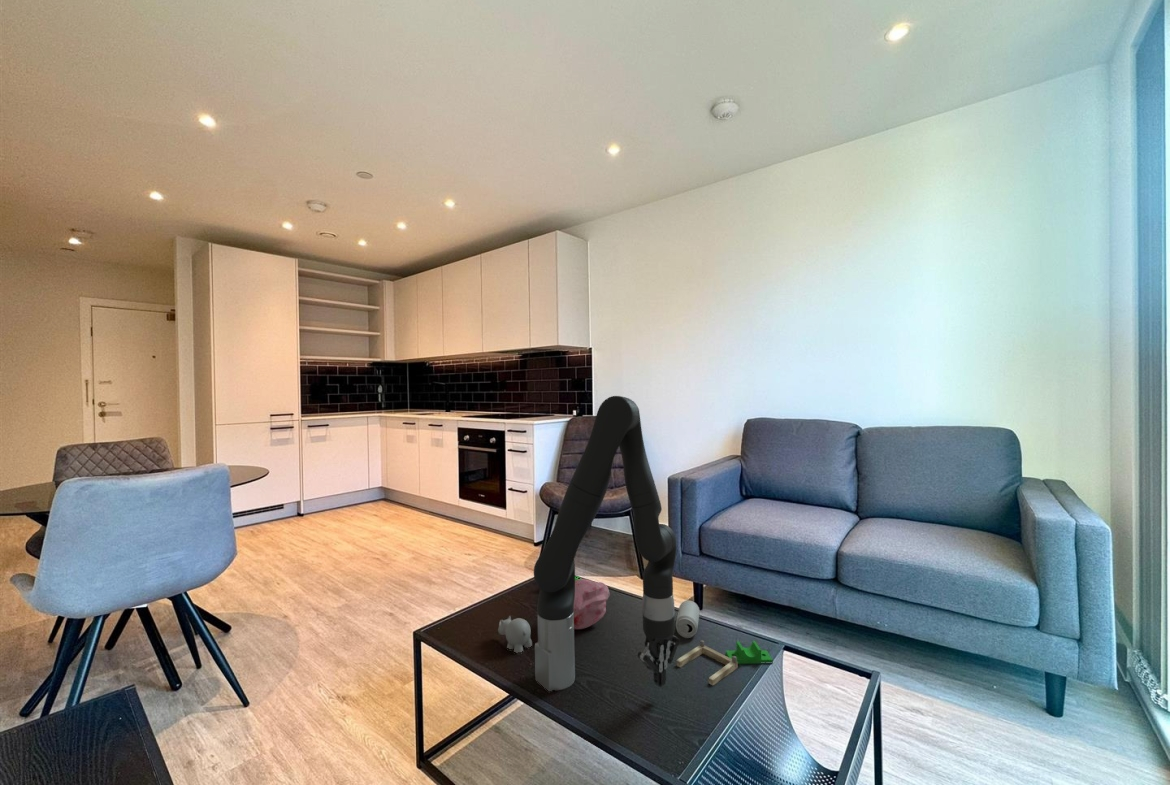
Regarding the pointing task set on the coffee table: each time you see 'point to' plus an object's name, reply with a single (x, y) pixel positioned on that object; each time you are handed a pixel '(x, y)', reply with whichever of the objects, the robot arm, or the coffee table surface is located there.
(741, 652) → the pipe clamp
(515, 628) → the rhino figurine
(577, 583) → the decorative rock
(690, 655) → the frame
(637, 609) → the coffee table surface
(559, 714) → the coffee table surface
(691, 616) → the beverage can
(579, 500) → the robot arm
